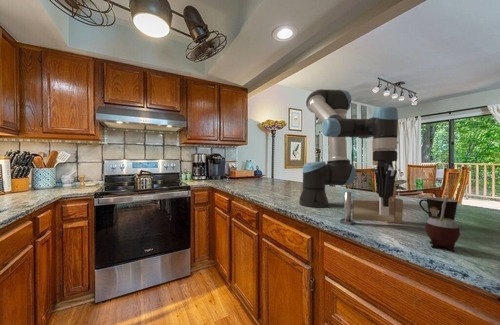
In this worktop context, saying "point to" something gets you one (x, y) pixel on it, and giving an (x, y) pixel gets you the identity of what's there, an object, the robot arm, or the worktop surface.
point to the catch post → (392, 197)
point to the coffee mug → (440, 207)
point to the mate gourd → (442, 231)
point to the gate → (377, 211)
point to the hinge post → (347, 209)
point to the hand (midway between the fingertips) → (384, 214)
